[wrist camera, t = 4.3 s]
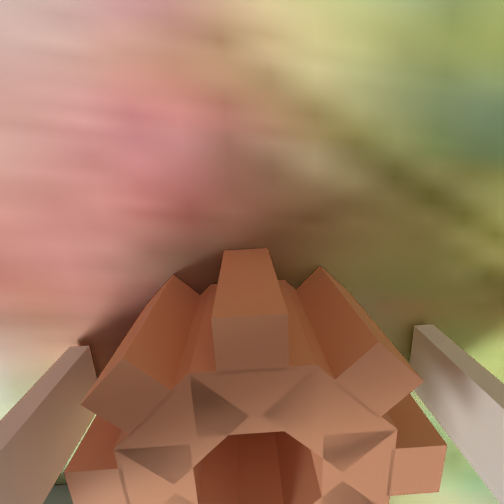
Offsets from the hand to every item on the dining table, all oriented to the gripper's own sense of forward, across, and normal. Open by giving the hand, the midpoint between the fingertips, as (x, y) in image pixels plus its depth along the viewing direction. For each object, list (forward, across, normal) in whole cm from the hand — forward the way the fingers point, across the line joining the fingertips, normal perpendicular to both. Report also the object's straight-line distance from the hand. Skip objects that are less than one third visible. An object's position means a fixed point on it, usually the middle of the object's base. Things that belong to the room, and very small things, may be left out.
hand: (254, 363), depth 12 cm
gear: (0, 0, 0) cm, 0 cm away
